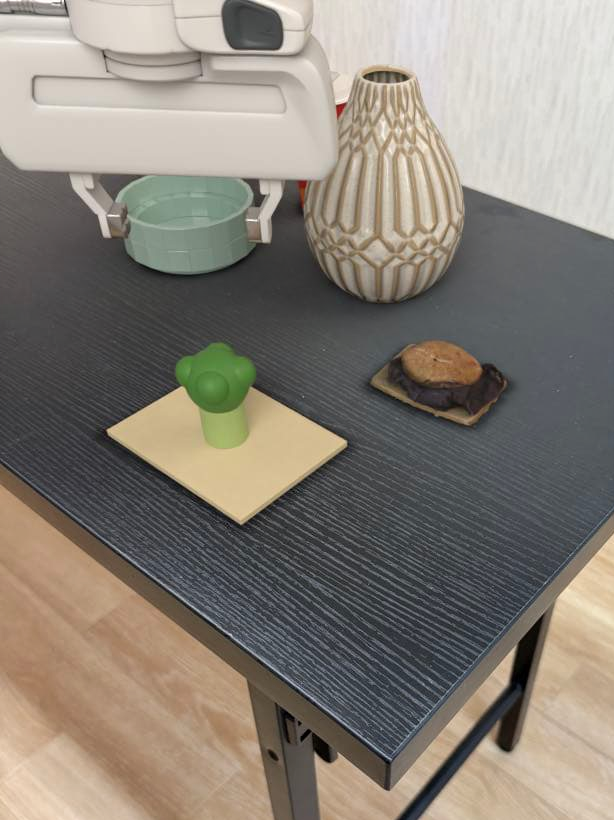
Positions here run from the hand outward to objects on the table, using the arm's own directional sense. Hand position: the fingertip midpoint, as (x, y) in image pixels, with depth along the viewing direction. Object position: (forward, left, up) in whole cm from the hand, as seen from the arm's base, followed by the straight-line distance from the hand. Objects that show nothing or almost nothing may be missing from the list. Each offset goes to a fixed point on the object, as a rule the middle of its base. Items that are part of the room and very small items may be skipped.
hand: (189, 237), depth 54 cm
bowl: (-8, +33, -18) cm, 38 cm away
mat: (0, 0, -18) cm, 18 cm away
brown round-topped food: (+18, +8, -18) cm, 27 cm away
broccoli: (0, 0, -17) cm, 17 cm away
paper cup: (+6, +43, -18) cm, 47 cm away
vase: (+13, +26, -18) cm, 34 cm away
